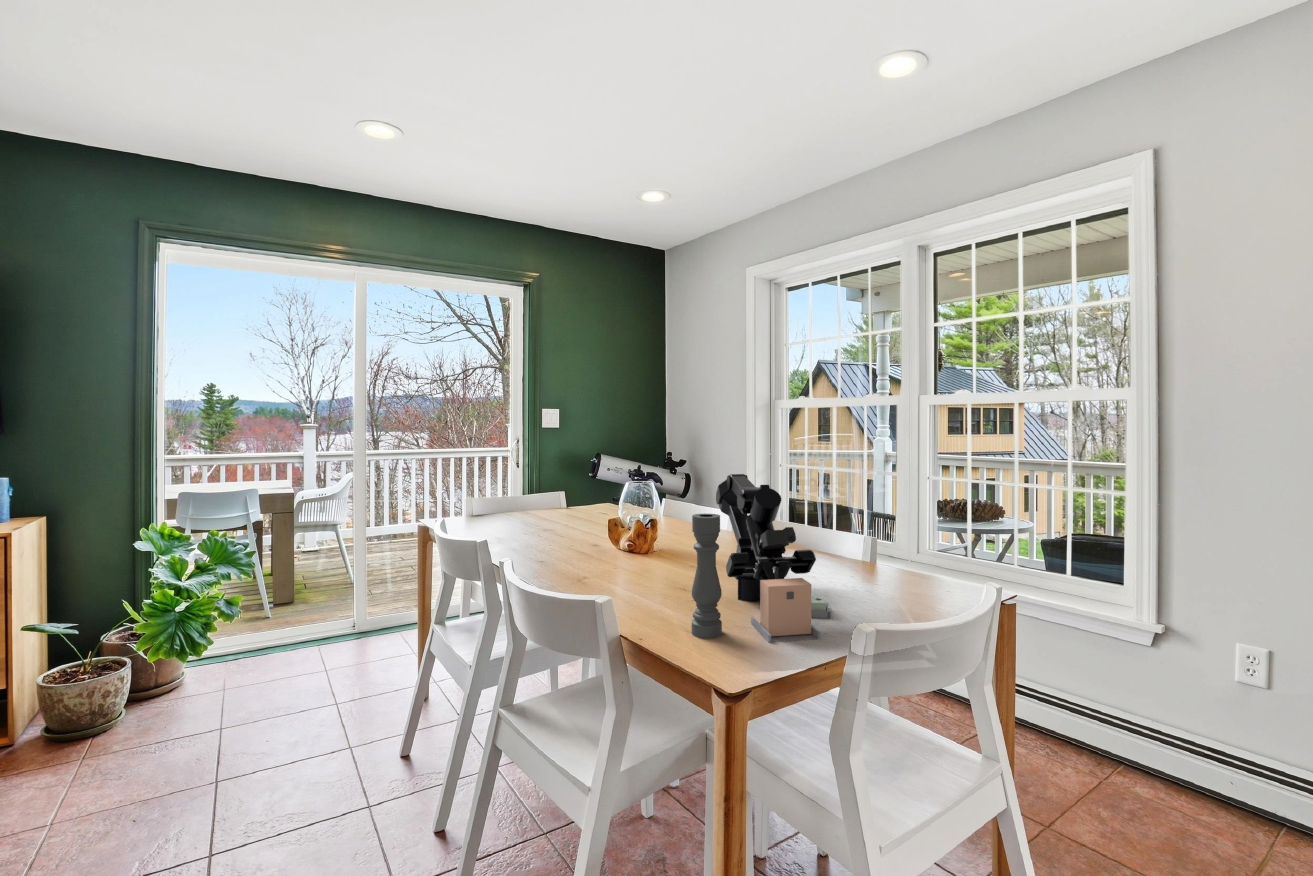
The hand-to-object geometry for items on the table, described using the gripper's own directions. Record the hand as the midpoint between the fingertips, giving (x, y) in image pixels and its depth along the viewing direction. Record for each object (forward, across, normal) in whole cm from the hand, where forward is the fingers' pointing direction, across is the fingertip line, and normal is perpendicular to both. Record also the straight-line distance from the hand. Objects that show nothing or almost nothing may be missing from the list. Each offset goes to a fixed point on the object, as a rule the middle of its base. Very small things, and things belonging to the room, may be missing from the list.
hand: (780, 598), depth 133 cm
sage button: (-2, +11, +10) cm, 15 cm away
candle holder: (+5, -16, +5) cm, 17 cm away
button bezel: (-1, +11, +11) cm, 15 cm away
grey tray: (+7, 0, +4) cm, 7 cm away
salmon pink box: (+6, 0, +2) cm, 7 cm away
